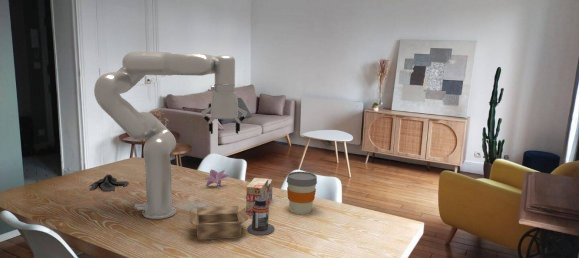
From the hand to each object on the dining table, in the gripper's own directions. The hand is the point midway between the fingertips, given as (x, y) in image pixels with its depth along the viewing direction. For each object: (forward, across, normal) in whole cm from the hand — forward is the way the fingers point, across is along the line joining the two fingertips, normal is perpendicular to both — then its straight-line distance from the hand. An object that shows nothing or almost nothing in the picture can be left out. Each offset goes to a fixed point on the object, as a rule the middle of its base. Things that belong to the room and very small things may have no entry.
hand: (224, 133), depth 159 cm
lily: (+34, -1, +35) cm, 49 cm away
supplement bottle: (+33, +12, -16) cm, 39 cm away
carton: (+33, -3, -16) cm, 37 cm away
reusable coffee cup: (+34, +32, +1) cm, 46 cm away
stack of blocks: (+34, +16, +7) cm, 38 cm away
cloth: (+34, -52, +43) cm, 76 cm away
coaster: (+33, +12, -16) cm, 39 cm away
